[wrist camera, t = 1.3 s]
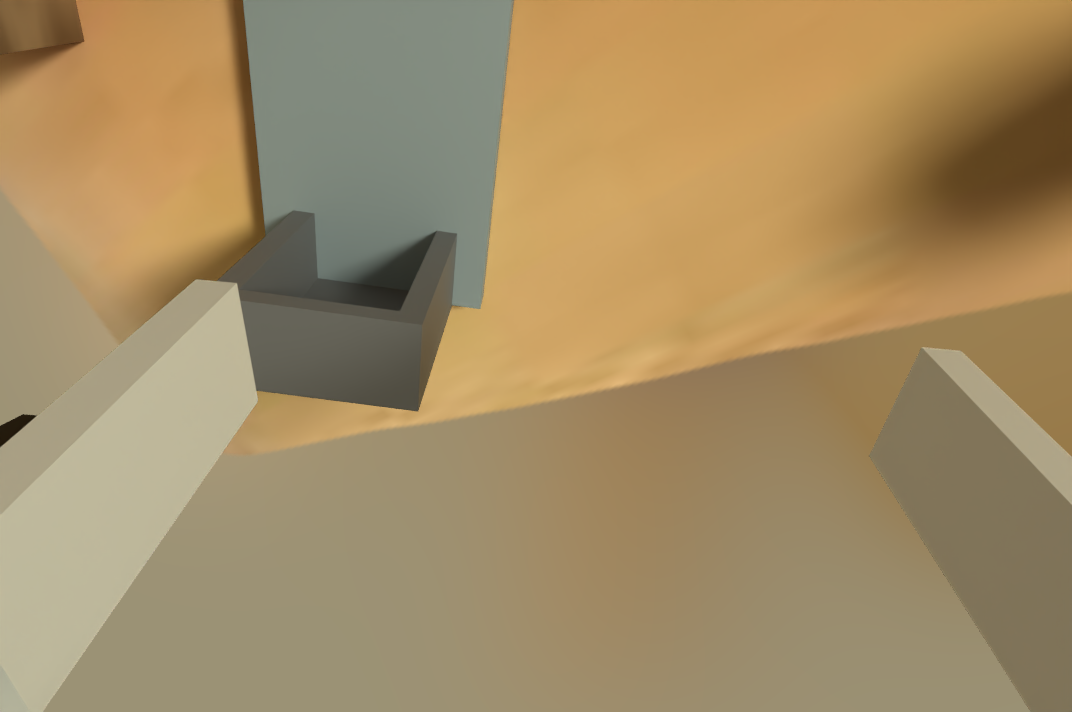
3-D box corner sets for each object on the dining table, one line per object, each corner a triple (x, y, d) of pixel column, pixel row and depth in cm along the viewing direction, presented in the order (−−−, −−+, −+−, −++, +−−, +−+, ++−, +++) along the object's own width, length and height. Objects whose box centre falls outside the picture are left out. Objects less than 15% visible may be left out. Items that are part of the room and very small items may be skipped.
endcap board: (222, -422, 21) (-46, -730, 12) (551, -361, 21) (544, -610, 12) (280, 268, 34) (177, 380, 25) (483, 296, 34) (455, 416, 25)
